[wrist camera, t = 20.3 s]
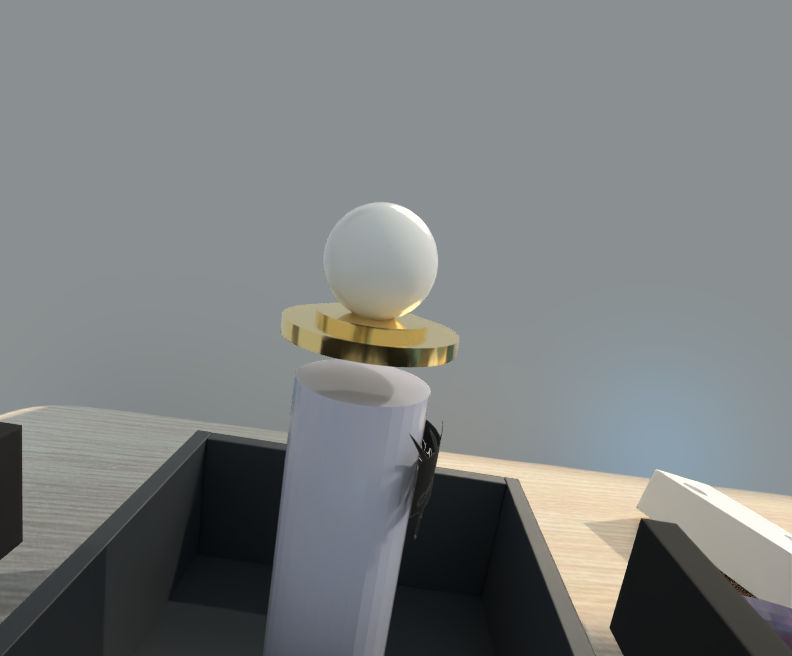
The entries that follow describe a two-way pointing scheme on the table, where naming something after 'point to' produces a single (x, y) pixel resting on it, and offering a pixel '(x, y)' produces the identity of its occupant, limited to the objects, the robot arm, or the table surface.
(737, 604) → the robot arm
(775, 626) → the headphones
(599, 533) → the table surface
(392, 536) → the perfume bottle
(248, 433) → the table surface
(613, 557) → the table surface
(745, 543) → the bracket
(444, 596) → the bin
